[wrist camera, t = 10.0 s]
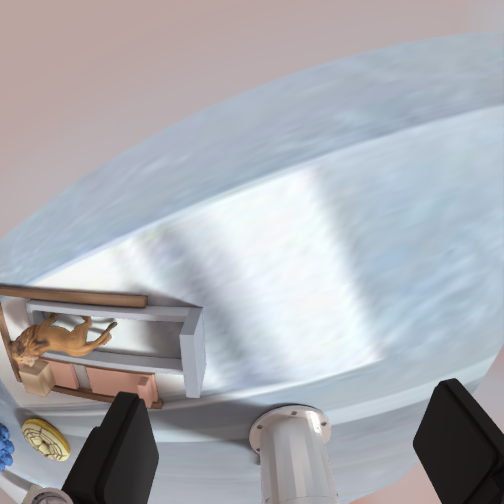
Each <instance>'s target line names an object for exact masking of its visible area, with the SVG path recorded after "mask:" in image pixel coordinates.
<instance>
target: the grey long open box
mask: <svg viewBox="0 0 504 504" xmlns="http://www.w3.org/2000/svg"><path fill="white" fill-rule="evenodd" d="M25 306H26V310H27V314H28V318H29V322H30V326H31V325H33V324H36V325H37V324H39V325H40V324H41V323H42V322H43V321H44V318H43V313H42V311H47V312H56V313H65V314H74V315H84V316H95V317H107V318H119V319H133V320H149V321H168V322H184V324H183V327H182V329H181V331H180V334H179V338H180V347H181V357H182V359H173V358H159V357H146V356H135V355H125V354H116V353H108V352H99V351H90V352H89V353H88V354H86V355H85V356H81V357H74V356H71V355H69V354H67V353H66V352H63V351H53V350H48V351H46V352H45V353H44V354H42V355H40V356H44V357H49V358H54V359H59V360H64V361H70V362H76V363H82V364H88V365H95V366H102V367H109V368H116V369H125V370H133V371H143V372H153V373H165V374H179V375H184V382H185V390H186V397H190V398H200V393H201V388H202V383H203V378H204V373H205V369H206V355H205V339H204V323H203V308H194V307H165V306H145V307H130V306H113V305H99V304H85V303H73V302H62V301H51V300H41V299H31V300H30V301H28V302H27V303H25Z"/></svg>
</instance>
